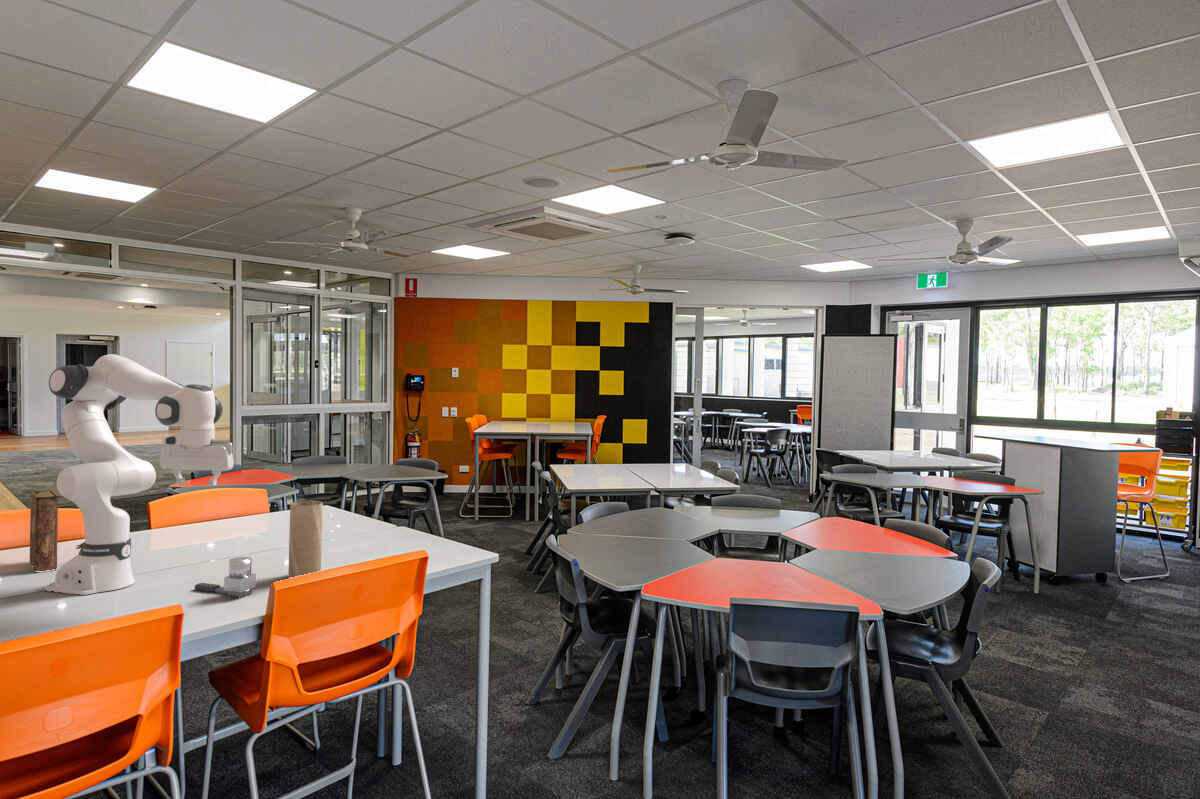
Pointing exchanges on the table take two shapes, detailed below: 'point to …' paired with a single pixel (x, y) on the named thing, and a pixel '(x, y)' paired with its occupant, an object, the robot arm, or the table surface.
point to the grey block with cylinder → (240, 575)
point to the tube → (305, 537)
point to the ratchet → (221, 590)
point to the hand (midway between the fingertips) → (196, 484)
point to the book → (43, 530)
